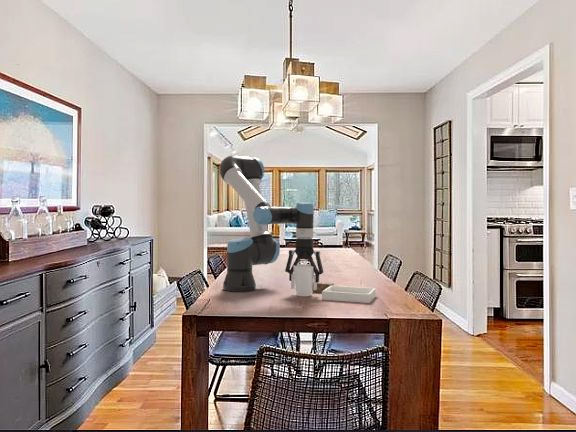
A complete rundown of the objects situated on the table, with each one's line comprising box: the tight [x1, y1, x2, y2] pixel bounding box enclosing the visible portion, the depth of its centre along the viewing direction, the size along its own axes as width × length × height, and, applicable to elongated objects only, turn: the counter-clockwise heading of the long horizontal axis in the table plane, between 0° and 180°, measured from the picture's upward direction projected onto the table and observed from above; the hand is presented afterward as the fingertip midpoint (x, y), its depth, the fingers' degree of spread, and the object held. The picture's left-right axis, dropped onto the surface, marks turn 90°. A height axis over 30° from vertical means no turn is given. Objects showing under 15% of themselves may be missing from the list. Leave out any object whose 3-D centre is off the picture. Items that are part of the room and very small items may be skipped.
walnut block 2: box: [322, 282, 335, 291], centre depth 234 cm, size 4×4×4 cm
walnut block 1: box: [312, 281, 323, 293], centre depth 236 cm, size 4×4×4 cm
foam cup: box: [292, 263, 315, 297], centre depth 226 cm, size 10×9×13 cm
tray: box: [321, 284, 377, 304], centre depth 221 cm, size 20×16×4 cm
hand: (303, 289), depth 226 cm, fingers closed on foam cup, 9 cm apart
